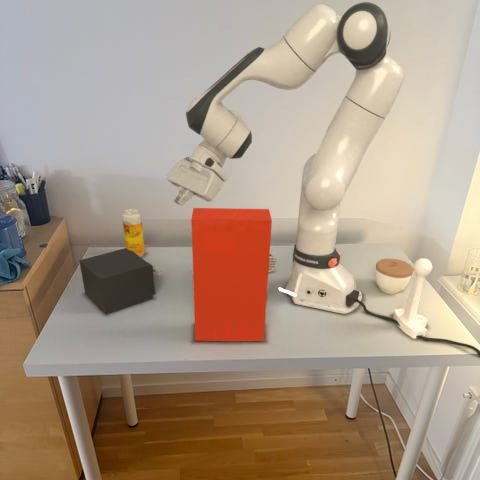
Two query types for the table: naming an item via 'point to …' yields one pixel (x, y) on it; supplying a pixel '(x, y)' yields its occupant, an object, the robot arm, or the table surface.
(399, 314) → the joystick
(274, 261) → the flashlight
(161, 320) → the table surface
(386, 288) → the trinket box
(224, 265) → the file binder
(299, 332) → the table surface
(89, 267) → the dark grey open box
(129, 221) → the vitamin bottle
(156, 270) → the drawer
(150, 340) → the table surface
